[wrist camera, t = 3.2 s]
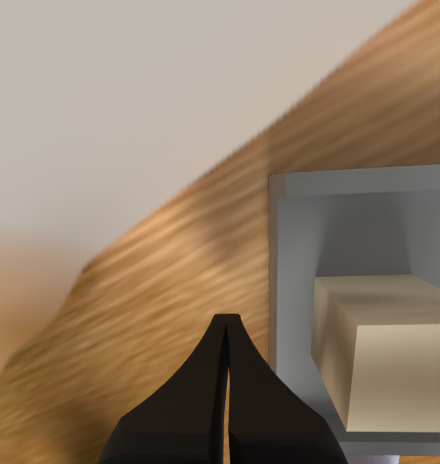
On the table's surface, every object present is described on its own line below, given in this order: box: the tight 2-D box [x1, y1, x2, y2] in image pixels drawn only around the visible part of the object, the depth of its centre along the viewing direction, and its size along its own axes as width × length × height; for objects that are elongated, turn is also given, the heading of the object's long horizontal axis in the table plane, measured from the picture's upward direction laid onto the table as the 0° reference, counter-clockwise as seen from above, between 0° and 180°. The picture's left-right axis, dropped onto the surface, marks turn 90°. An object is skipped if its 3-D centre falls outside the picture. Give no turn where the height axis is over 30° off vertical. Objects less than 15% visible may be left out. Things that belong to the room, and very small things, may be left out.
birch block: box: [311, 274, 440, 432], centre depth 10 cm, size 5×5×4 cm
